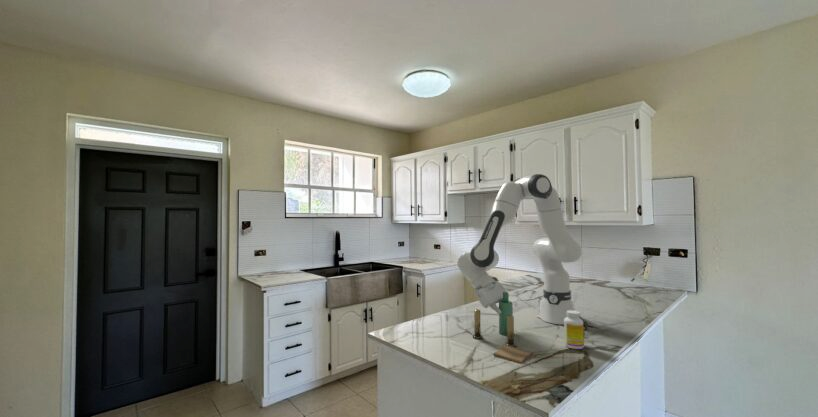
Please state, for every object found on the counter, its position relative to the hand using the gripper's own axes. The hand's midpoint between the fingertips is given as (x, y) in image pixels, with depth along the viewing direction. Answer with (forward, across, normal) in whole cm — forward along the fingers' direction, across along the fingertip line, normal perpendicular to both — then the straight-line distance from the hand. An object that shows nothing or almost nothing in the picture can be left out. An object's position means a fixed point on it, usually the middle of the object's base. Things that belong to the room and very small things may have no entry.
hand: (505, 310), depth 140 cm
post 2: (+12, -12, +2) cm, 17 cm away
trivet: (+14, -20, -1) cm, 25 cm away
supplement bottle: (+25, +2, -12) cm, 28 cm away
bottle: (+7, 0, +7) cm, 9 cm away
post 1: (+2, -12, +12) cm, 17 cm away
